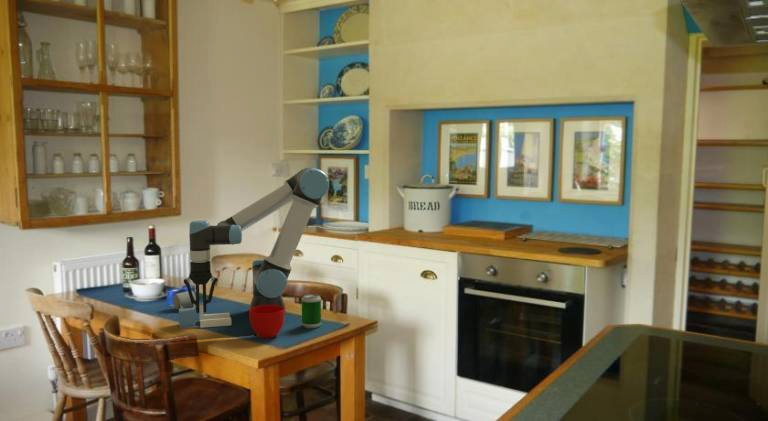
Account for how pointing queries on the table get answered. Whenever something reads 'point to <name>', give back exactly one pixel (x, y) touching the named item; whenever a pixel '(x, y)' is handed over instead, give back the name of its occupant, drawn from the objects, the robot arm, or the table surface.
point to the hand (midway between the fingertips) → (201, 320)
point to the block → (187, 317)
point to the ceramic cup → (267, 320)
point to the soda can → (311, 311)
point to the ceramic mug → (183, 301)
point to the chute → (213, 320)
